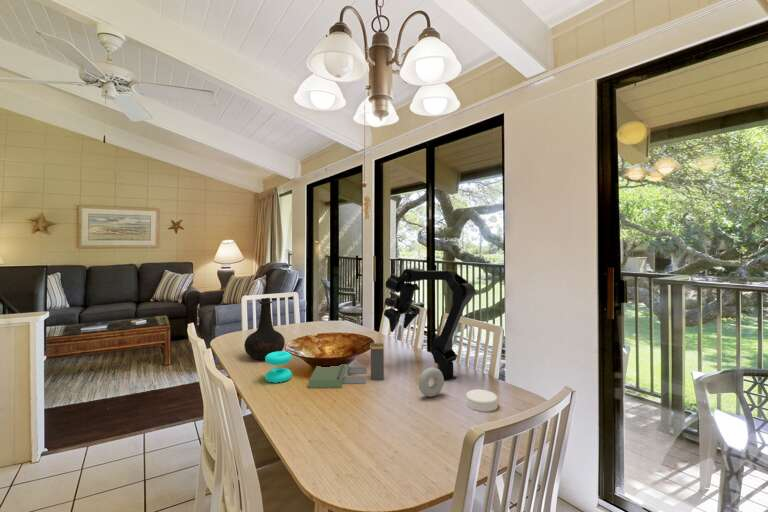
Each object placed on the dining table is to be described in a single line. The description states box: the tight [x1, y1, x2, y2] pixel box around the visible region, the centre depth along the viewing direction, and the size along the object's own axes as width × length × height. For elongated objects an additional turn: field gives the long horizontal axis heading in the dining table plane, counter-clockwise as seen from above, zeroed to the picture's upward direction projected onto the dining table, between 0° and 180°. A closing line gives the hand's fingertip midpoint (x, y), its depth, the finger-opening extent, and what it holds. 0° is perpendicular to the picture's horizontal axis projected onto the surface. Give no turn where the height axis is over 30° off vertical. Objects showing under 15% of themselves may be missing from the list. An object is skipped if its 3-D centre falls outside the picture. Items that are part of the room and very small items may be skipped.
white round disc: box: [465, 389, 499, 413], centre depth 118 cm, size 10×10×4 cm
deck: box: [308, 363, 368, 389], centre depth 143 cm, size 20×20×4 cm
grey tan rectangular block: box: [369, 342, 385, 381], centre depth 143 cm, size 5×5×13 cm
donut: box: [418, 366, 445, 398], centre depth 125 cm, size 10×3×10 cm, turn 118°
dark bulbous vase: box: [244, 297, 286, 360], centre depth 170 cm, size 18×18×28 cm
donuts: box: [264, 350, 293, 384], centre depth 142 cm, size 10×10×10 cm
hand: (398, 329), depth 158 cm, fingers open, 9 cm apart
